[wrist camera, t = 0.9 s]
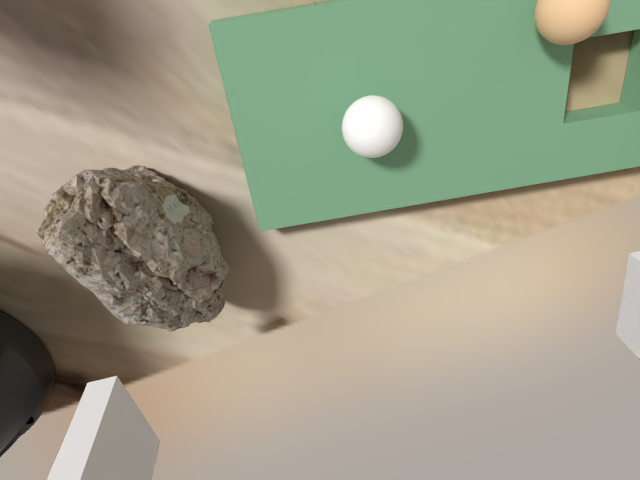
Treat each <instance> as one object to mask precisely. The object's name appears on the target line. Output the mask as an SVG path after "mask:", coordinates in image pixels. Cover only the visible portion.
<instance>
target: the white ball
mask: <svg viewBox="0 0 640 480" xmlns="http://www.w3.org/2000/svg"><path fill="white" fill-rule="evenodd" d="M402 132H403V120H402V116H401V113H400V111H399V110H398V108H397V107H396V105H395V104H394V103H393V102H391V101H390V100H388V99H387V98H385V97H381V96H376V95H370V96H365V97H362V98H360V99H358V100H356V101H355V102H354V103H353V104H351V105H350V107H349V108H348V109H347V111H346V113H345V115H344V118H343V122H342V133H343V137H344V140H345V142H346V144H347V145H348V147H349V148H350V149H351V150H352V151H353V152H355V153H356V154H358V155H360V156H363V157H367V158H377V157H381V156H384V155H386V154H387V153H389V152H390V151H392V150H393V149H394V148H395V147H396V145H397V144H398V142H399V140H400V138H401V135H402Z"/></svg>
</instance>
